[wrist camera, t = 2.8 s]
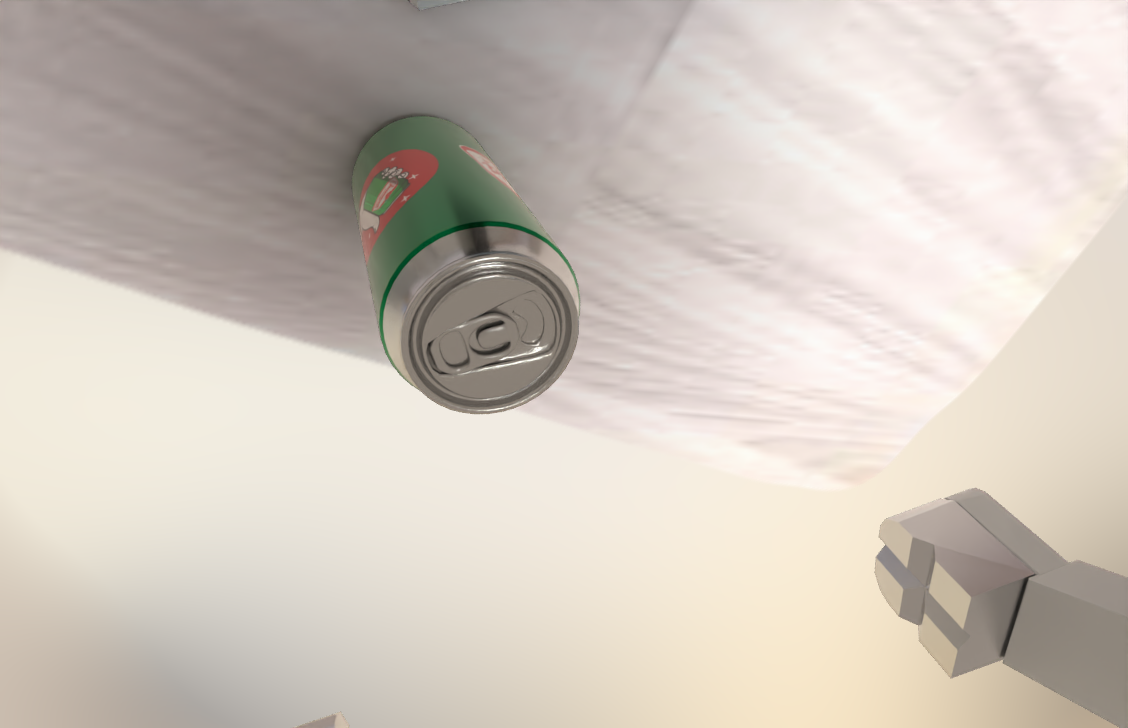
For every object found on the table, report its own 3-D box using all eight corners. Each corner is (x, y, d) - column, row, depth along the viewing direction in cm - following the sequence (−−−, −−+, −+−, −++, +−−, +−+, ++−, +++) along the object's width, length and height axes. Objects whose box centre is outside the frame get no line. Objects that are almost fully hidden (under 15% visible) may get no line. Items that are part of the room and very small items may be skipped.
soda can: (504, 223, 29) (610, 387, 19) (379, 264, 28) (424, 455, 19) (468, 94, 26) (572, 209, 16) (328, 136, 25) (349, 281, 16)
